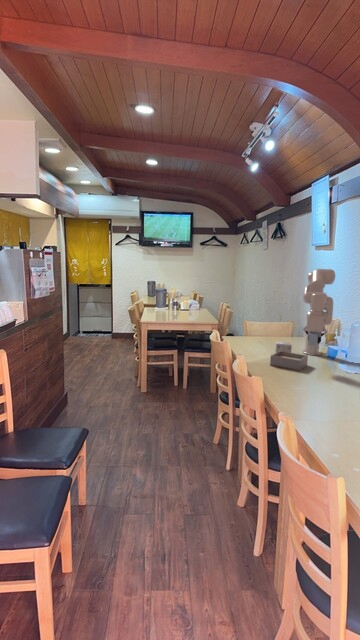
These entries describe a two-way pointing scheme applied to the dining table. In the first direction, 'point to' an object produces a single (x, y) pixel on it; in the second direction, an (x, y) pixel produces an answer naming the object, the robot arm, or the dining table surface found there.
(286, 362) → the tote
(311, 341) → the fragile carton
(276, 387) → the dining table surface
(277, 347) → the light bulb box
